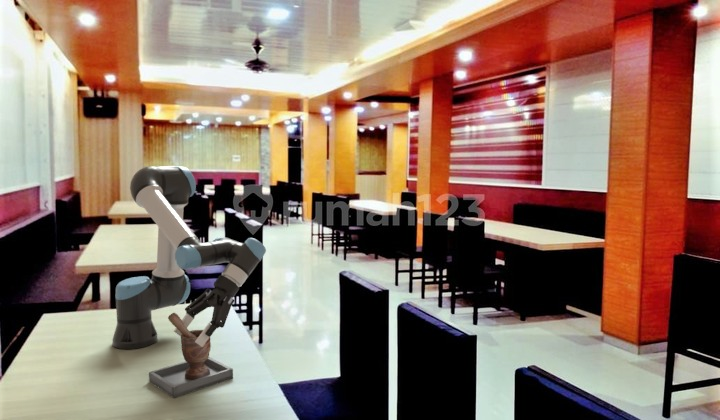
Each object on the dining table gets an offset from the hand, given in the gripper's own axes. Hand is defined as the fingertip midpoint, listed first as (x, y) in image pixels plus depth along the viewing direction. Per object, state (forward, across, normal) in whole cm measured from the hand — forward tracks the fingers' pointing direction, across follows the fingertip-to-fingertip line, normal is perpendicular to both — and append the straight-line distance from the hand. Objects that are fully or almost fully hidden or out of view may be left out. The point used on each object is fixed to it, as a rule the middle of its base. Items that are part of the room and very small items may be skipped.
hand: (187, 339), depth 159 cm
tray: (+9, 0, -10) cm, 13 cm away
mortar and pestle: (+8, 0, -10) cm, 12 cm away
